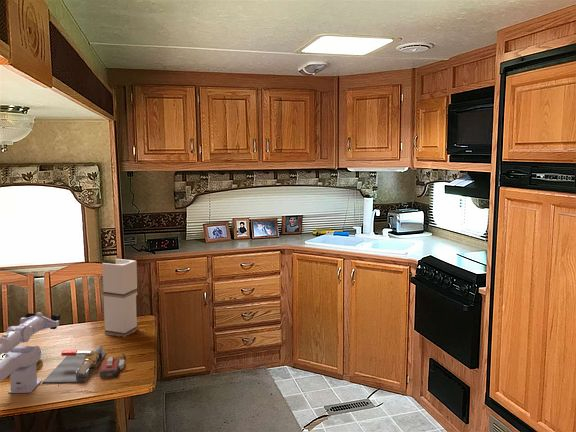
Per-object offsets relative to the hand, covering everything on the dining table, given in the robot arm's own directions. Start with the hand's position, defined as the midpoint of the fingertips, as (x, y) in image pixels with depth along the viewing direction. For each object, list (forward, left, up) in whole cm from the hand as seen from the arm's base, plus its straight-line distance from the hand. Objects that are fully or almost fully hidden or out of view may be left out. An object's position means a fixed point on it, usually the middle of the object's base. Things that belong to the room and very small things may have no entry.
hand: (50, 316), depth 196 cm
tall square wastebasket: (+34, -19, -21) cm, 44 cm away
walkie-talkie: (-4, -26, -21) cm, 34 cm away
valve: (-5, -17, -20) cm, 27 cm away
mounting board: (-5, -11, -20) cm, 24 cm away
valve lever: (-5, -12, -15) cm, 20 cm away
